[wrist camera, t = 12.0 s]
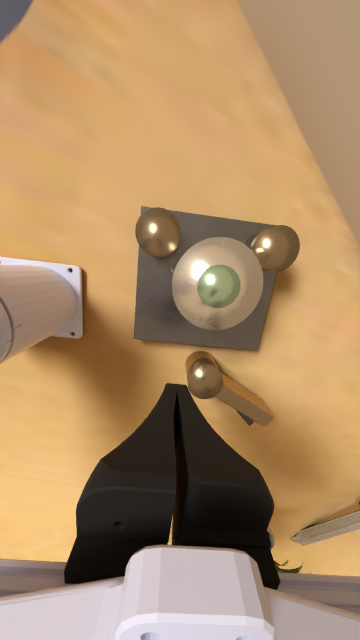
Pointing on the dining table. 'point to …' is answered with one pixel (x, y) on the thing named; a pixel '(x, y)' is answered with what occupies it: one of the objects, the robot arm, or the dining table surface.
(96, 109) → the dining table surface
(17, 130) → the dining table surface
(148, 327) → the levelling base
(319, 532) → the caliper
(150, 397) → the dining table surface
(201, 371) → the ball-topped bar
